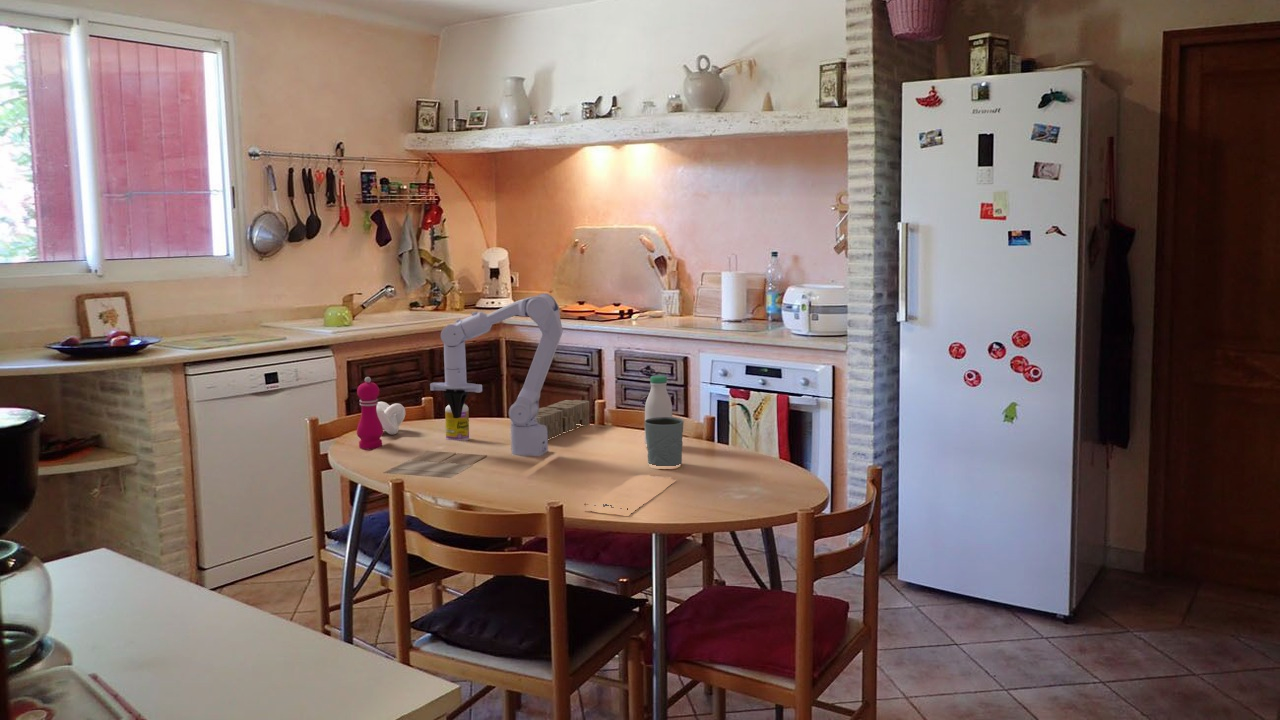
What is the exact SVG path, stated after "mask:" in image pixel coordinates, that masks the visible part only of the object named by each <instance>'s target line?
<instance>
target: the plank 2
mask: <svg viewBox="0 0 1280 720" xmlns="http://www.w3.org/2000/svg"><path fill="white" fill-rule="evenodd" d="M486 457H488V455H487V454H473V453H463V452H462V453H459V452H458V453H457V452H456V454H455V455H454V456H452V457H450V458H448V459H446V460H444V461H442V462H441V463H454V464H467V465H474V464H476V463H477V462H478V463H479V461H481V460H484V459H485V458H486Z"/></svg>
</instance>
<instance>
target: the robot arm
mask: <svg viewBox="0 0 1280 720" xmlns="http://www.w3.org/2000/svg"><path fill="white" fill-rule="evenodd" d="M560 314H561V313H560V306H559V305H558V302H557V301H556V299H555V298H554V297H553V296H552V295H550V294H549V293H541V294H538V295H537V296H536V295H535V296H530V297H526V298H522V299H519V300H516V301H514V302H512V303H510V304H508V305H505V306H503V307H501V308H499V309H495V310H494V311H492V312H490V313H489V312H488V313H486V312H483V311H479V312H478V311H473V312H472V313H471V315H470V316H468V317H464V318H462V319H460V318H458V319H456V320H455V322H453V323H450V324H447V325H445V326H444V327H443V328H442V330H440V331H441V332H440V339H441V342H442V343H443V363H444V382H431V383H430V384H429V386H430V387H429V388H430V392H431V391H433V392H434V391H445V392H444V393H443V396H444V398H445V400H446V402H447V403H448V405H450V408H451V411H452V414H453V418H460V417H461V413H462V409H463V405H464V404H465V402H466V400H467V398H468V395H469V392H470V393H478V394H479V393H482V392H483V385H482V384H478V383H477V384H476V383H470V382H467V360H466V341H469V340H472V339H474V338H477V337H479V336H482V335H484V334H486V333H489V332H490V331H491V329H492V326H493V325H495V324H498V323H501V322H503V321H505V320H508V319H510V318H512V317H516V316H519V317H522V318H523V317H524V318H525V317H529V318H530V319H531V320H532V321H533V322H534V323H535V324H536V325H537V326H538V328H539V330H540V331H541V337H540V340H539V343H538V346H537V348H536V350H535V353H534V356H533V359H532V362H531V364H530V367H529V370H528V373H527V375H526V378H525V381H524V384H523V386H522V388H521V390H520V391H519V394H518V396H517V398H516V400H515V401H514V403H513V404H511V406H510V407H509V409H508V417H509V419H510V441H511V442H510V444H511V445H510V446H511V448H510V450H511V455H514V456H524V457H525V456H526V457H527V456H528V457H529V456H530V457H541V456H543V455H544V454H545V453H548V452H549V449H548V447H549V440H548V435H547V428H546V426H545V425H540V424H538V420H537V419H536V417H535V416H536V415H537V413H538V411H539V409H540V404H539V401H540V398H541V391H542V389H543V386H544V382H545V381H546V377H547V375H548V372H549V370H550V367H551V365H552V362H553V359H554V356H555V353H556V351H557V348H558V346H559V343H560V340H561V339H562V338H561V337H562V335H563V330H564V329H563V325H562V320H561V315H560Z"/></svg>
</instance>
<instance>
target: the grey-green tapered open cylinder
mask: <svg viewBox="0 0 1280 720" xmlns="http://www.w3.org/2000/svg"><path fill="white" fill-rule="evenodd" d="M645 431H646V440H647V447H646V450H647V463H649V464H652V465H656V466H676V465H679V464H681V465H682V461H683V453H682V452H683V437H684V436H683V434H684V433H683V431H684V420H683V418H680V417H679V418H678V417H675V416H672V417H657V418H650V419H647V420H645V419H644V432H645Z"/></svg>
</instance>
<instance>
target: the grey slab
mask: <svg viewBox="0 0 1280 720" xmlns="http://www.w3.org/2000/svg"><path fill="white" fill-rule="evenodd" d="M473 466H474V464H472V465H469V464H456V463H442V462H429V461H415V460H412V459H408V460H406V461H404V462H402V463H400V464H398V465H395V466H394V467H392V468H390V469H388V470H385V471H383V474H392V475H393V474H395V475H408V476H409V475H410V476H422V477H434V478H446V479H451V478H453V477H454V476H456V475H458V474H460V473H462V472H464V471H465V470H468V468H471V467H473Z"/></svg>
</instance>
